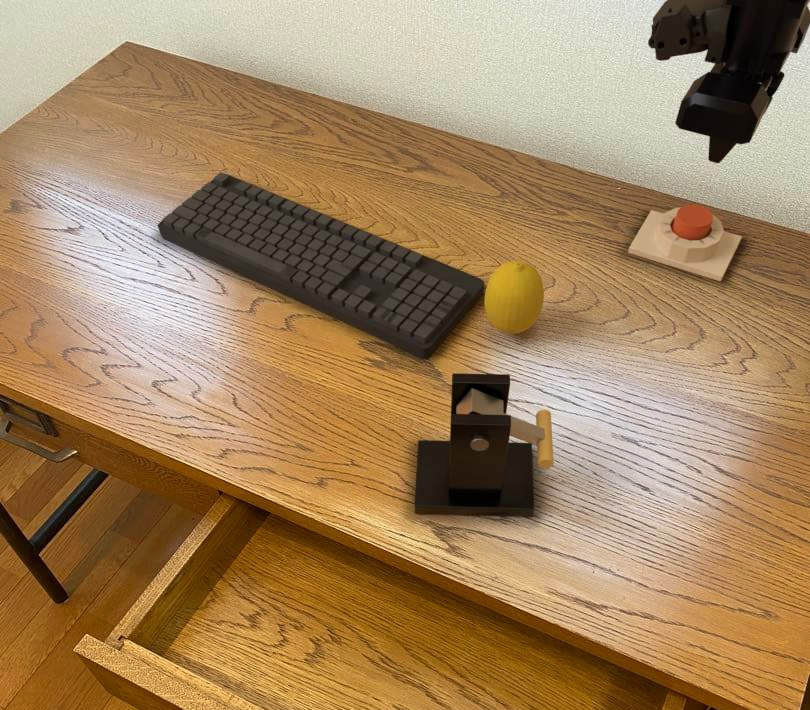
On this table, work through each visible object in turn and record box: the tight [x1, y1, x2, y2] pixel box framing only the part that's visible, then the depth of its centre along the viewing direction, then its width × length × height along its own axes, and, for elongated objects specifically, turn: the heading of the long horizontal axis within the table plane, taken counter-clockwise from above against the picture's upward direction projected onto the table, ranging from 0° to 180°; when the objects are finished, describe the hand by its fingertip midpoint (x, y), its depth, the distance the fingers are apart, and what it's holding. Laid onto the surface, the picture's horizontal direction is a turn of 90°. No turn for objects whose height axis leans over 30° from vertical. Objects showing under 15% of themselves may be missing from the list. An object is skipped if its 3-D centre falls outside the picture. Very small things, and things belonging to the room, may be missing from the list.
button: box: [673, 204, 714, 241], centre depth 77 cm, size 4×4×2 cm
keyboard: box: [157, 171, 485, 359], centre depth 79 cm, size 35×11×2 cm, turn 56°
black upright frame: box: [414, 373, 535, 518], centre depth 60 cm, size 10×7×11 cm
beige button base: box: [627, 207, 743, 282], centre depth 78 cm, size 10×7×2 cm
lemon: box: [484, 260, 545, 335], centre depth 70 cm, size 6×6×8 cm
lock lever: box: [456, 388, 555, 469], centre depth 58 cm, size 8×5×2 cm, turn 87°
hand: (714, 160), depth 71 cm, fingers closed
